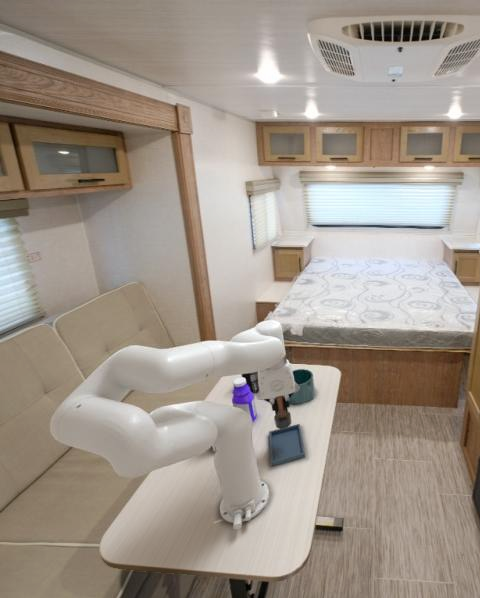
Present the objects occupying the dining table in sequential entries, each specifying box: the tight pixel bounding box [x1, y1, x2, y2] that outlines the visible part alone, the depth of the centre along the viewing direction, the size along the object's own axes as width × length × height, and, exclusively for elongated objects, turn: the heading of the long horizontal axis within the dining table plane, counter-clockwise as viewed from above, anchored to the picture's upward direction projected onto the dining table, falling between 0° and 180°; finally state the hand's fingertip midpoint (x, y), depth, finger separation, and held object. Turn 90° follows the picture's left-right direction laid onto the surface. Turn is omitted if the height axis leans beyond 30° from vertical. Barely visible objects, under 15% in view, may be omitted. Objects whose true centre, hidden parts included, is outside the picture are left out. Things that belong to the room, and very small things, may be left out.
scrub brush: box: [273, 395, 293, 429], centre depth 108 cm, size 5×5×11 cm
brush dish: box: [268, 423, 306, 467], centre depth 114 cm, size 14×10×2 cm
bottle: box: [231, 376, 258, 423], centre depth 122 cm, size 7×6×17 cm
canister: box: [289, 368, 316, 406], centre depth 137 cm, size 11×11×9 cm
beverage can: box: [240, 372, 259, 393], centre depth 140 cm, size 7×7×12 cm
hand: (281, 409), depth 108 cm, fingers closed on scrub brush, 2 cm apart
